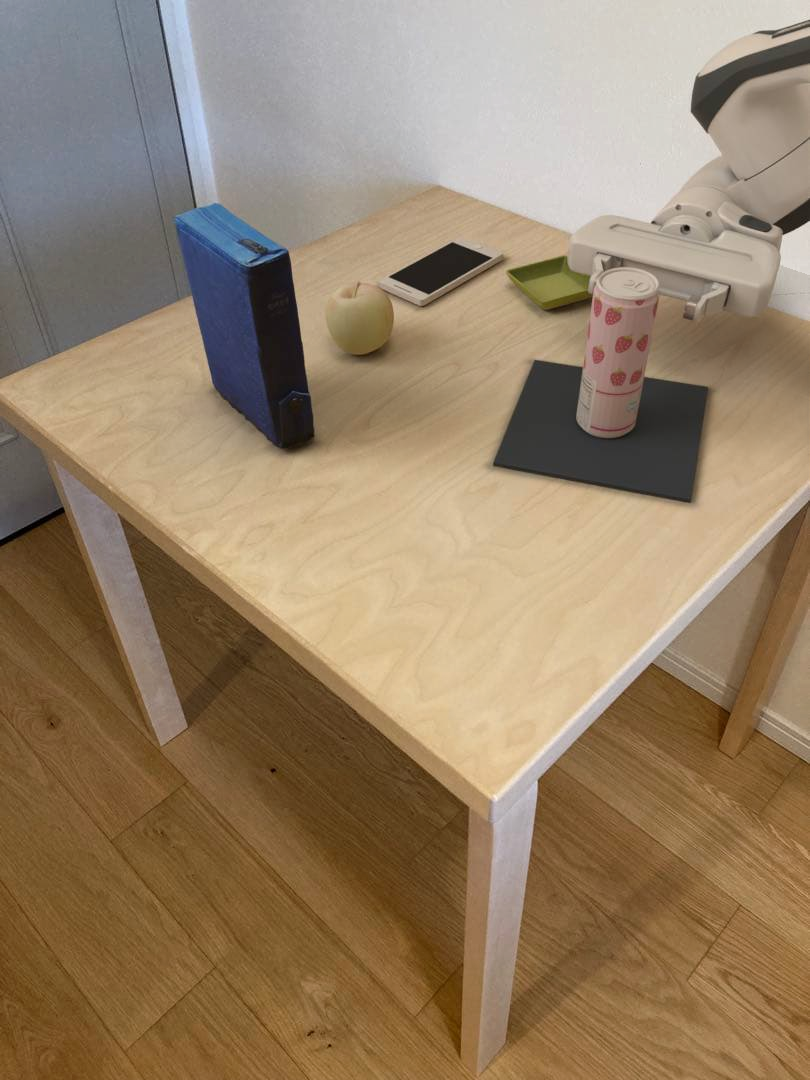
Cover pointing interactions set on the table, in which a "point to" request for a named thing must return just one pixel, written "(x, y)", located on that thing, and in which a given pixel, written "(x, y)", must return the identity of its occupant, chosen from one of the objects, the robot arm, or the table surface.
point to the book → (248, 321)
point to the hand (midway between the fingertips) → (642, 300)
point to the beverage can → (617, 351)
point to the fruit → (359, 317)
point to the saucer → (551, 282)
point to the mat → (623, 462)
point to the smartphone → (440, 271)
